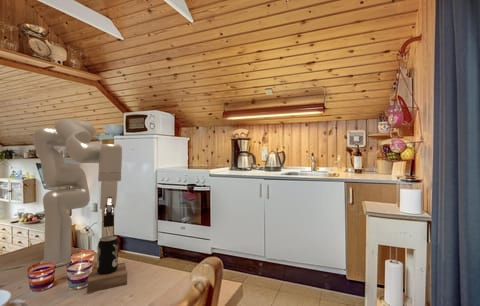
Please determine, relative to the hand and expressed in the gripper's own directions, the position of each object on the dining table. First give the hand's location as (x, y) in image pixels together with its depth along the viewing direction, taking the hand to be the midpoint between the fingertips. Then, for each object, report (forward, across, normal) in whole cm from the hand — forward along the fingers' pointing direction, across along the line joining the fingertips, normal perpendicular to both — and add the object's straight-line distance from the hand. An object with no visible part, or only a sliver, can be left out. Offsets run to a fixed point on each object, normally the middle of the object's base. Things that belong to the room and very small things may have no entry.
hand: (108, 223), depth 91 cm
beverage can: (+18, 0, 0) cm, 18 cm away
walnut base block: (+21, +1, 0) cm, 21 cm away
